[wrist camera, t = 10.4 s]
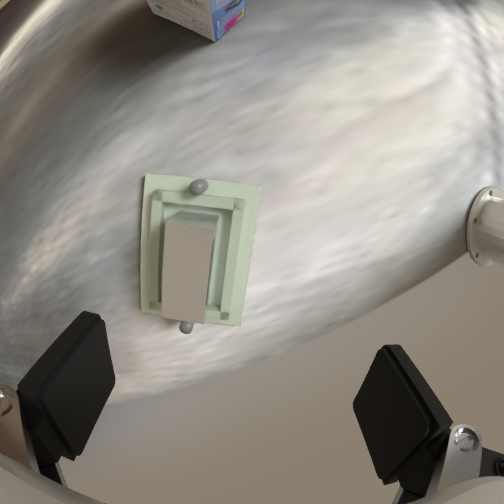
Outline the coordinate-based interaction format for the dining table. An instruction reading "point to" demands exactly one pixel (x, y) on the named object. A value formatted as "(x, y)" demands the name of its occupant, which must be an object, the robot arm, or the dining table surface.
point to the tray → (227, 241)
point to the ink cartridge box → (201, 14)
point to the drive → (188, 265)
